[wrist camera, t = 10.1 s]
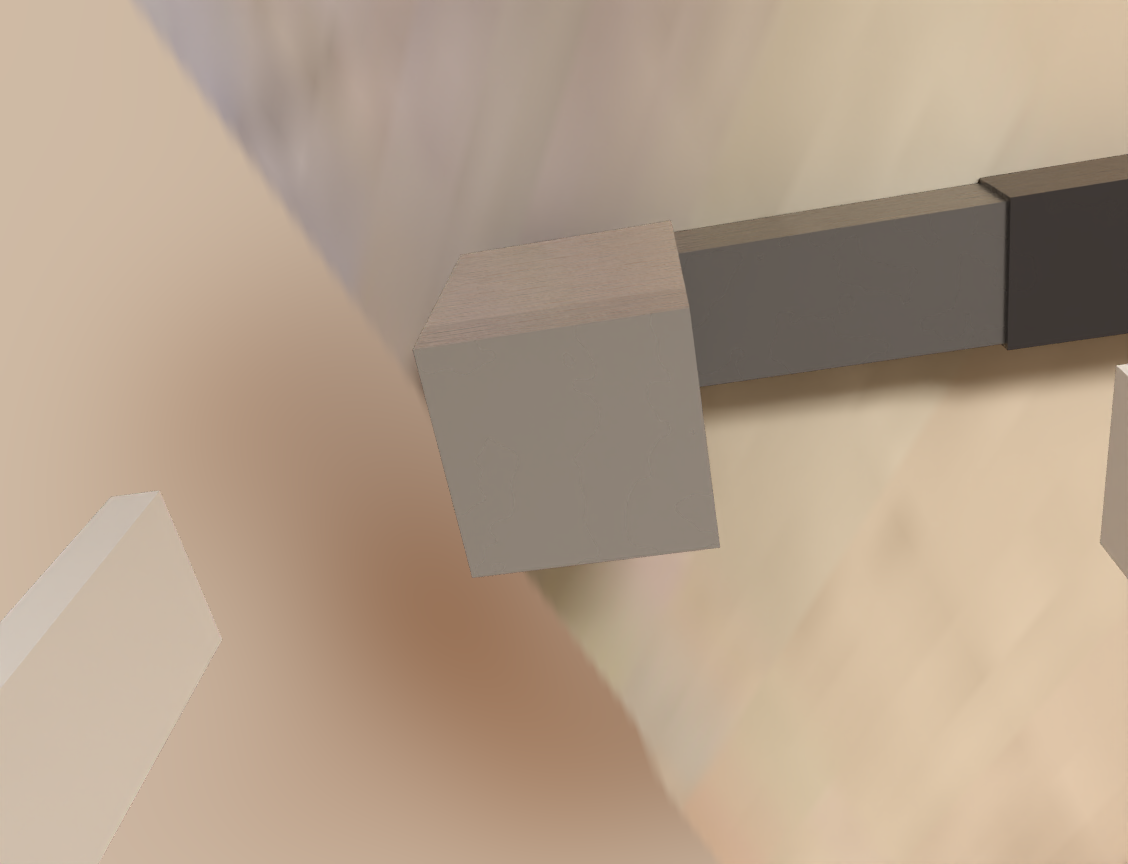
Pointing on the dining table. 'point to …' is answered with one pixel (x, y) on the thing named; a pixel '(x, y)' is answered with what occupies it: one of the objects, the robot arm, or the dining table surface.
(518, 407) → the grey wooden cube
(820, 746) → the dining table surface
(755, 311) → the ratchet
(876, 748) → the dining table surface
